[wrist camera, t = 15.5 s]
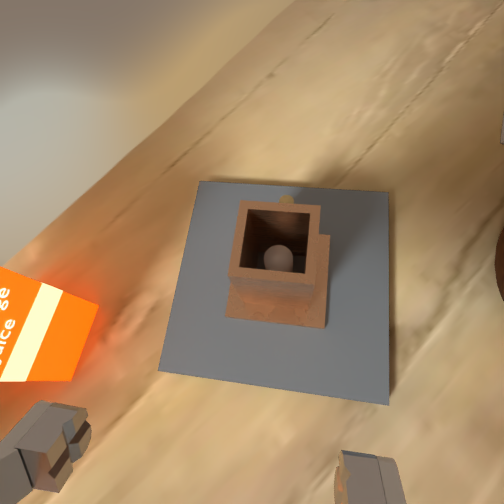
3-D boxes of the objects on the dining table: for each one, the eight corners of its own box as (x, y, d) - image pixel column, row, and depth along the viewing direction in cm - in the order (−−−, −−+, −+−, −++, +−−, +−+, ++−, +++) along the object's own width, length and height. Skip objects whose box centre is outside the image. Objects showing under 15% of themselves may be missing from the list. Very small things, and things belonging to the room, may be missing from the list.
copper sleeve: (226, 317, 31) (202, 294, 23) (240, 230, 34) (224, 181, 26) (323, 329, 30) (336, 309, 22) (329, 237, 33) (342, 189, 25)
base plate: (163, 371, 32) (133, 368, 26) (202, 188, 39) (186, 152, 33) (384, 404, 29) (409, 410, 23) (384, 199, 36) (403, 162, 30)
